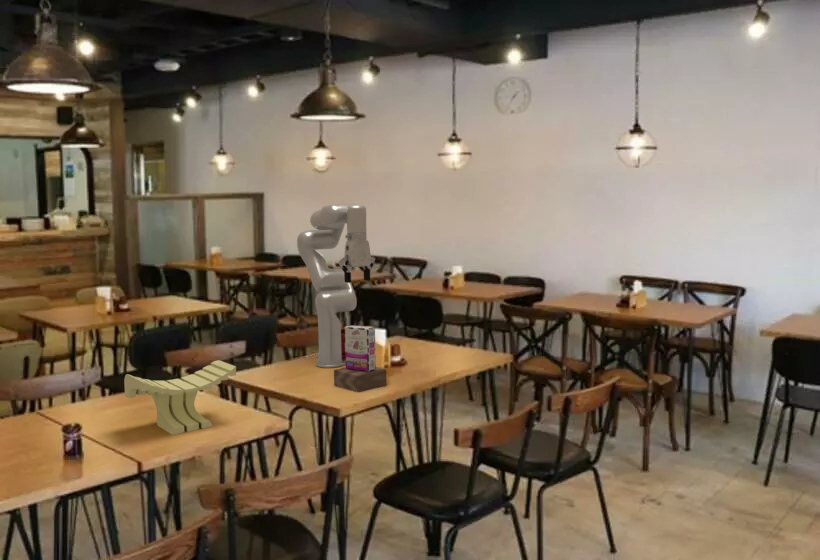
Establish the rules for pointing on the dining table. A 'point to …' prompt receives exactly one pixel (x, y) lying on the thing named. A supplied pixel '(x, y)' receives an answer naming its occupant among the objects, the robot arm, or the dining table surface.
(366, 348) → the candy bar box
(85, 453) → the dining table surface
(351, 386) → the walnut riser
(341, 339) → the plant pot
